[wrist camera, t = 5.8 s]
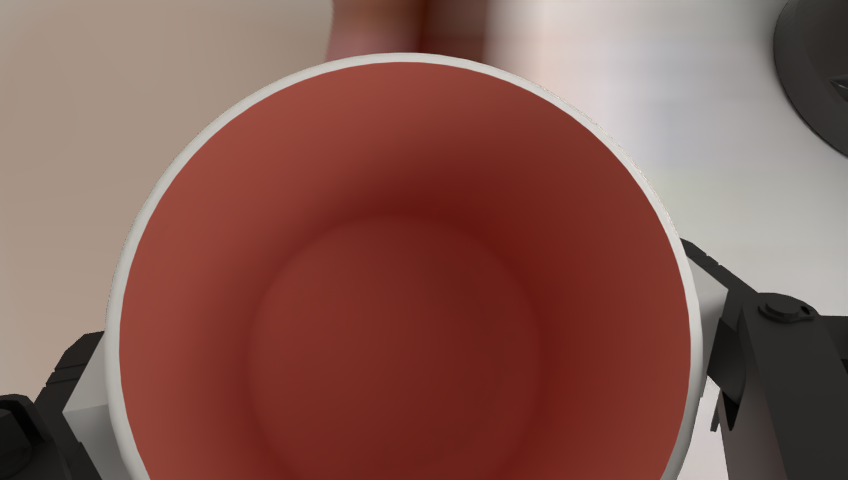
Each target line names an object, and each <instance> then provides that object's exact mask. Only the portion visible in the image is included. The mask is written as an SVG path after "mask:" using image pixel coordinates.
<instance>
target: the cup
mask: <svg viewBox="0 0 848 480" xmlns="http://www.w3.org/2000/svg"><path fill="white" fill-rule="evenodd" d="M103 349H104V379H105V388H106V394H107V401H108V407H109V413H110V420H111V423H112V427H113V430H114V434H115V437H116V441H117V444H118V447H119V451H120V454H121V458H122V460H123V462H124V465H125V467H126V469H127V471H128V474H129V476H130V478H131V480H676V479H677V477H678V475H679V473H680V470H681V468H682V466H683V463H684V460H685V457H686V454H687V451H688V448H689V445H690V442H691V438H692V433H693V429H694V424H695V419H696V415H697V410H698V406H699V401H700V396H701V384H702V373H703V334H702V326H701V318H700V309H699V302H698V298H697V293H696V289H695V285H694V280H693V276H692V272H691V269H690V266H689V263H688V260H687V257H686V254H685V251H684V248H683V245H682V243H681V240H680V238H679V236H678V234H677V232H676V229H675V227H674V225H673V223H672V221H671V219H670V217H669V214H668V212H667V211H666V209H665V207H664V206H663V204H662V202H661V201H660V199H659V197H658V196H657V194H656V192H655V191H654V189H653V187H652V186H651V184H650V183H649V182H648V180H647V179H646V178H645V176H644V175H643V174H642V172H641V171H640V170H639V168H638V167H637V166H636V164H635V163H634V162H633V160H632V159H631V158H630V157H629V156H628V155H627V154H626V153H625V152H624V151H623V150H622V149H621V148H620V146H619V145H618V144H617V143H616V142H615V141H614V140H613V139H612V138H611V137H610V136H609V135H608V134H607V133H605V132H604V131H603V130H602V129H601V128H600V127H599V126H598V125H596V124H595V123H594V122H593V121H592V120H591V119H590V118H588V117H587V116H586V115H584V114H583V113H581V112H580V111H579V110H577V109H576V108H574V107H573V106H572V105H570V104H569V103H568V102H566V101H565V100H563V99H561V98H559V97H558V96H556V95H554V94H553V93H551V92H549V91H547V90H546V89H544V88H542V87H541V86H538V85H536V84H534V83H532V82H530V81H528V80H526V79H523V78H521V77H519V76H517V75H514V74H512V73H509V72H506V71H503V70H501V69H498V68H495V67H492V66H489V65H485V64H481V63H477V62H474V61H470V60H466V59H460V58H454V57H449V56H443V55H435V54H423V53H382V54H370V55H363V56H355V57H349V58H345V59H340V60H335V61H330V62H327V63H323V64H320V65H317V66H313V67H310V68H307V69H304V70H301V71H299V72H296V73H294V74H291V75H288V76H286V77H284V78H281V79H279V80H277V81H275V82H273V83H271V84H269V85H267V86H265V87H263V88H261V89H259V90H258V91H256V92H254V93H252V94H251V95H249V96H247V97H245V98H244V99H242V100H241V101H239V102H238V103H237V104H235V105H233V106H232V107H231V108H229V109H228V110H226V111H225V112H223V113H222V114H221V115H220V116H218V117H217V118H216V119H215V120H214V121H212V122H211V123H210V124H209V125H207V126H206V127H205V128H204V129H203V130H202V131H201V132H200V133H199V134H198V135H197V136H196V137H194V138H193V139H192V140H191V141H190V142H189V143H188V144H187V146H186V147H185V148H184V149H183V150H182V151H181V152H180V153H179V154H178V156H177V157H176V158H175V159H174V160H173V161H172V162H171V164H170V165H169V166H168V168H167V169H166V170H165V172H164V173H163V174H162V176H161V177H160V178H159V180H158V181H157V183H156V185H155V186H154V188H153V190H152V191H151V193H150V195H149V196H148V198H147V200H146V201H145V203H144V205H143V206H142V208H141V209H140V211H139V213H138V214H137V216H136V218H135V220H134V222H133V225H132V227H131V229H130V232H129V234H128V236H127V238H126V241H125V243H124V245H123V248H122V252H121V255H120V258H119V261H118V264H117V267H116V270H115V273H114V276H113V281H112V286H111V290H110V295H109V300H108V305H107V311H106V321H105V333H104V344H103Z"/></svg>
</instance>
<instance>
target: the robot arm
mask: <svg viewBox="0 0 848 480" xmlns="http://www.w3.org/2000/svg"><path fill="white" fill-rule="evenodd" d="M774 54H775V61H776V65H777V69H778V73H779V76H780V79H781V81H782V84H783V86H784V88H785V90H786V92H787V94H788V96H789V98H790V99H791V101H792V103H793V104H794V106H795V107H796V109H797V110H798V111H799V113H800V114H801V115H802V117H803V118H804V119H805V120H806V121H807V123H808V124H809V125H810V126H811V127H812V128H813V129H814V130H815V131H816V132H817V133H818V134H819V135H820V136H821V137H822V138H824V139H825V140H826V141H827V142H828V143H830V144H831V145H832V146H834V147H835V148H836V149H838V150H839V151H841V152H842V153H844V154H845V155H847V156H848V0H790V1H789V2H788V3H787V4H786V6H785V7H784V9H783V10H782V12H781V14H780V16H779V19H778V22H777V25H776V29H775V35H774ZM680 240H681V243H682V245H683V248H684V251H685V254H686V257H687V260H688V263H689V266H690V269H691V272H692V276H693V280H694V285H695V289H696V293H697V298H698V302H699V309H700V318H701V326H702V334H703V373H702V384H701V396H700V398H701V397H703V392H704V388H705V384H706V380H707V376H709V377H710V378H711V379H712V380H713V381H714V382H715V383H716V384H717V385H718V386H719V387H720V392H719V396H718V400H717V403H716V407H715V411H714V415H713V419H712V423H711V429H710V431H714V432H716V431H717V427H718V424H719V423H720V427H721V433H722V440H723V446H724V452H725V459H726V465H727V471H728V478H729V480H848V316H821V315H819V314H818V312H817V311H816V310H815V309H814V308H813V307H811V306H810V305H808V304H807V303H805V302H803V301H801V300H798V299H796V298H793V297H791V296H787V295H782V294H777V293H758V292H756V291H755V290H754V289H752V288H751V287H750V286H748V285H747V284H746V283H744V282H743V281H742V280H740V279H739V278H738V277H736V276H735V275H734V274H732V273H731V272H730V271H728V270H727V269H726V268H725V267H723V266H722V265H718V262H717V261H715V260H714V259H713V258H711V257H710V256H707V255H706V253H705V252H703V251H702V250H701V249H699V248H698V247H697V246H695V245H694V244H693V243H691V242H689V241H686V240H684V239H682V238H680ZM104 333H105V331H101V332H95V333H89V334H84V335H83V336H82V337H81V338H80V339H78V340H77V341H76V342H75V343H74V344H73V345H72V346H71V347H70V348H68V349H67V350H66V351H65V352H64V354H63V356H62V357H61V359H60V361H59V362H58V364H57V366H56V367H55V372H53V373H52V374H51V375H50V377H49V379H48V381H47V382H46V387H44V388H43V389H42V390H41V392H40V394H39V396H38V397H37V399H36V400H35V402H34V404H33V402H32V401H31V400H30V399H29V398H28V397H27V396H24V395H19V394H9V395H3V396H0V480H131V478H130V476H129V474H128V471H127V469H126V467H125V465H124V462H123V460H122V458H121V454H120V451H119V447H118V444H117V441H116V437H115V434H114V430H113V427H112V423H111V420H110V413H109V407H108V401H107V394H106V388H105V379H104V349H103V344H104Z"/></svg>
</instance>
